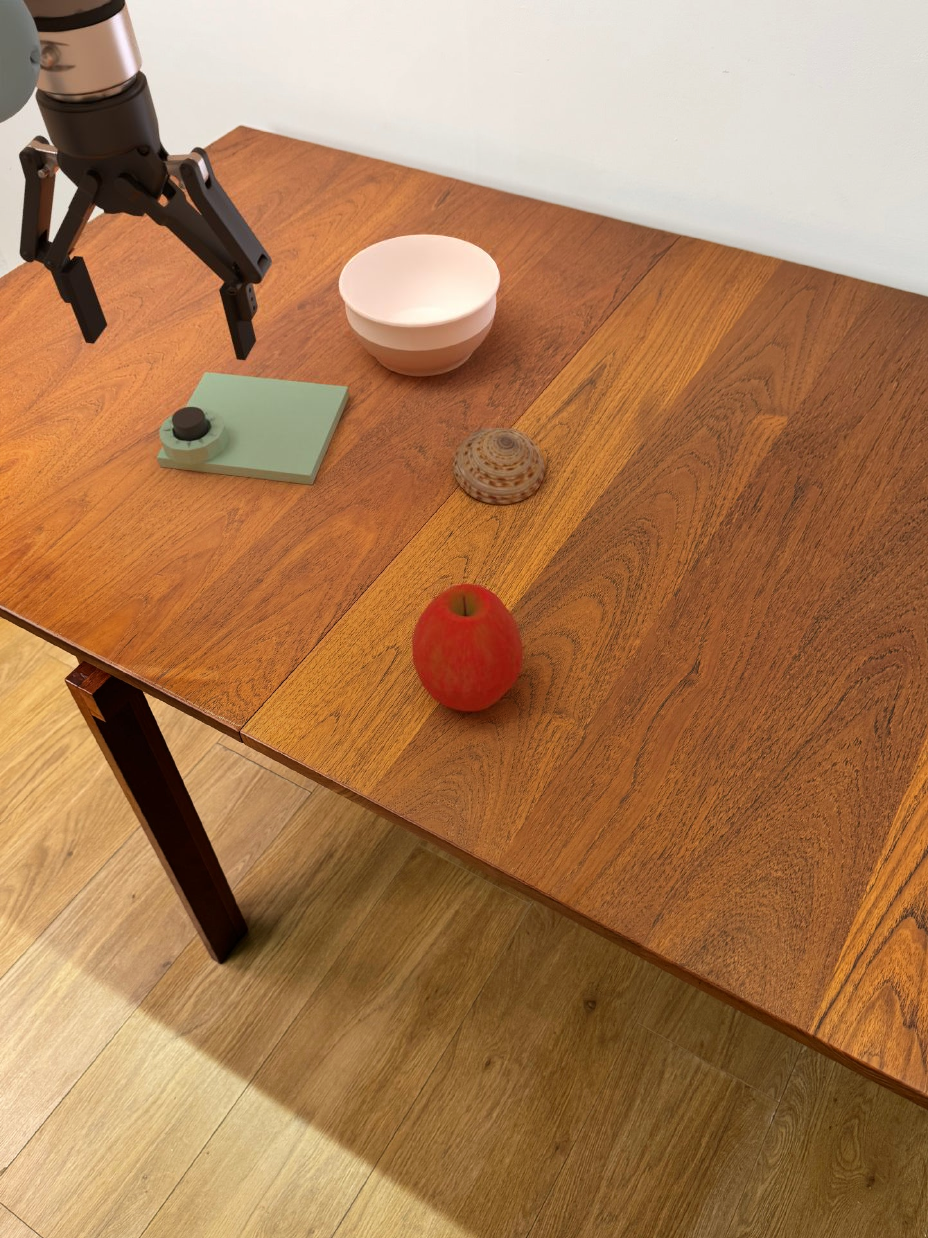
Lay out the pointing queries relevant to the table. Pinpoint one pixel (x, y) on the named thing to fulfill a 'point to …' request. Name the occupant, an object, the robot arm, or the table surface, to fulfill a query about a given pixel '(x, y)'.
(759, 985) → the table surface
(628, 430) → the table surface
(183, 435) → the button
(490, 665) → the apple
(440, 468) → the table surface
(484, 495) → the seashell
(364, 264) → the bowl
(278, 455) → the scale
